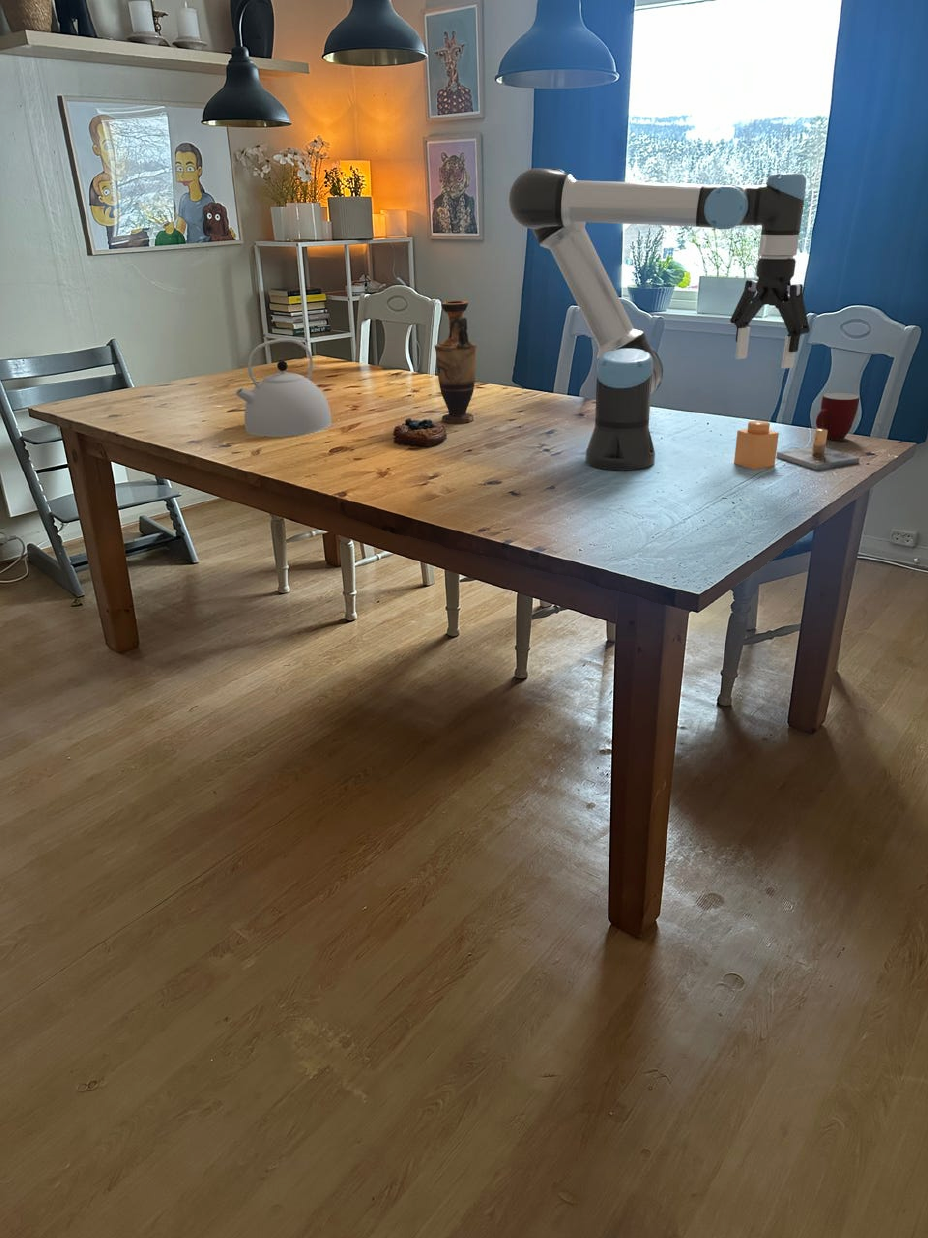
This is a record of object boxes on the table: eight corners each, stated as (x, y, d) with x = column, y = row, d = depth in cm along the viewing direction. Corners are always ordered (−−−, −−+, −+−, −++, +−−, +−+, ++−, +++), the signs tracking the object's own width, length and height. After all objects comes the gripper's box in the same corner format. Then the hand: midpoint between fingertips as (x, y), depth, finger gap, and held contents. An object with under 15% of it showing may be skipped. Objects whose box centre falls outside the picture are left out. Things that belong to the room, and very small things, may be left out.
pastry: (413, 434, 227) (412, 411, 224) (453, 439, 221) (452, 416, 219) (388, 444, 218) (386, 420, 216) (429, 450, 213) (428, 425, 210)
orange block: (752, 469, 191) (757, 427, 187) (733, 462, 196) (738, 421, 192) (774, 465, 193) (779, 424, 189) (755, 459, 198) (760, 418, 194)
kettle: (258, 443, 222) (247, 350, 212) (223, 427, 239) (211, 339, 229) (347, 427, 235) (340, 338, 225) (308, 413, 252) (299, 329, 242)
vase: (431, 418, 242) (427, 301, 229) (469, 414, 245) (466, 298, 232) (445, 426, 233) (441, 305, 220) (484, 422, 236) (482, 302, 223)
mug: (832, 446, 206) (839, 402, 202) (802, 439, 212) (808, 397, 208) (859, 438, 212) (866, 396, 207) (829, 432, 218) (835, 391, 213)
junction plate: (816, 470, 189) (820, 439, 186) (776, 457, 199) (780, 427, 196) (858, 463, 193) (863, 432, 191) (817, 450, 203) (822, 421, 200)
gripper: (838, 259, 175) (821, 370, 185) (747, 253, 195) (735, 353, 204) (811, 261, 172) (794, 373, 181) (720, 254, 192) (710, 356, 201)
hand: (763, 363), depth 193 cm, fingers open, 13 cm apart
